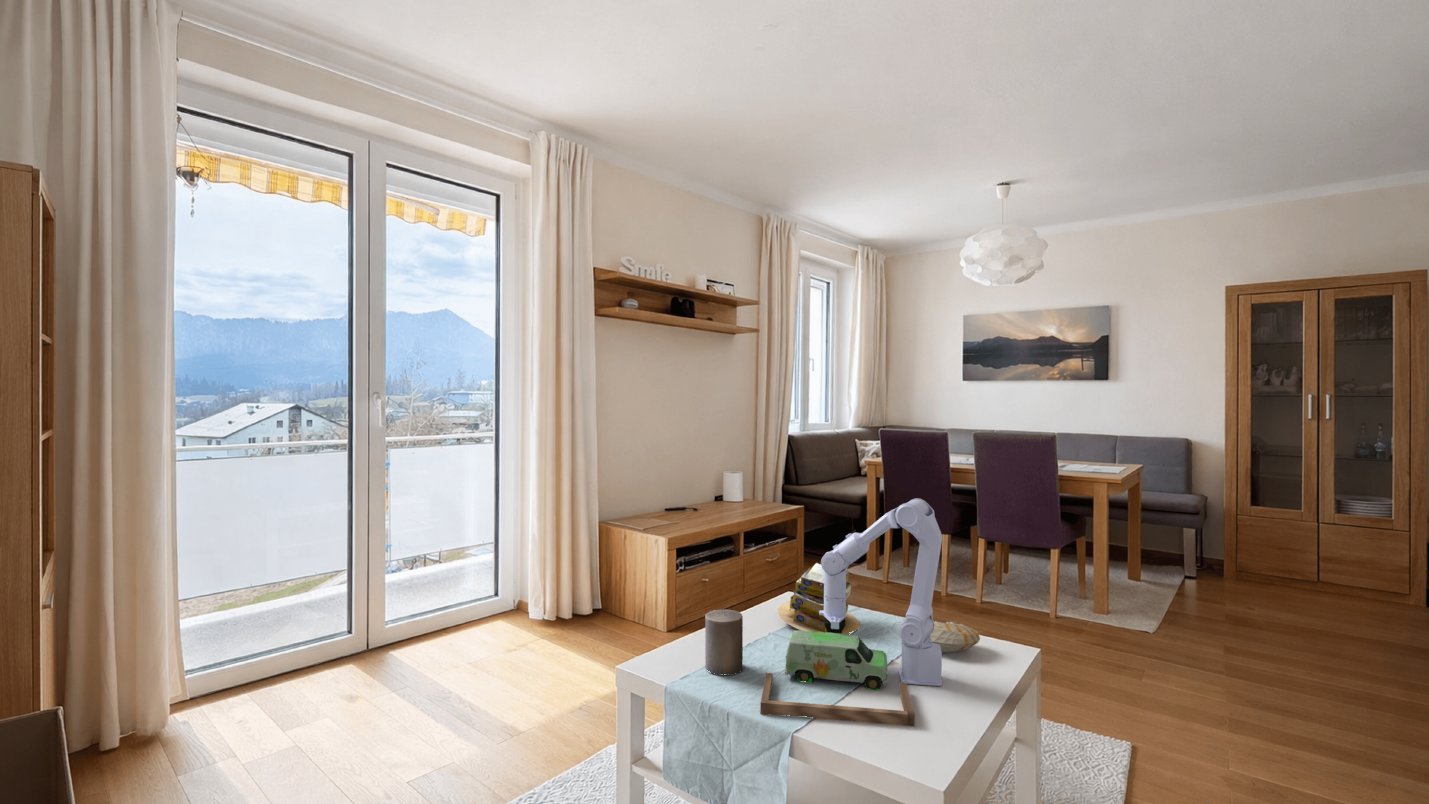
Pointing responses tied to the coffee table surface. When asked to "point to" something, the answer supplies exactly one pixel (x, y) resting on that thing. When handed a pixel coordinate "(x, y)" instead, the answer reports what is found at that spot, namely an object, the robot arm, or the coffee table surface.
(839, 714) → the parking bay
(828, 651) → the toy car
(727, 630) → the pillar candle
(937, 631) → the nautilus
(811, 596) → the stacked boxes on plate
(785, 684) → the coffee table surface
